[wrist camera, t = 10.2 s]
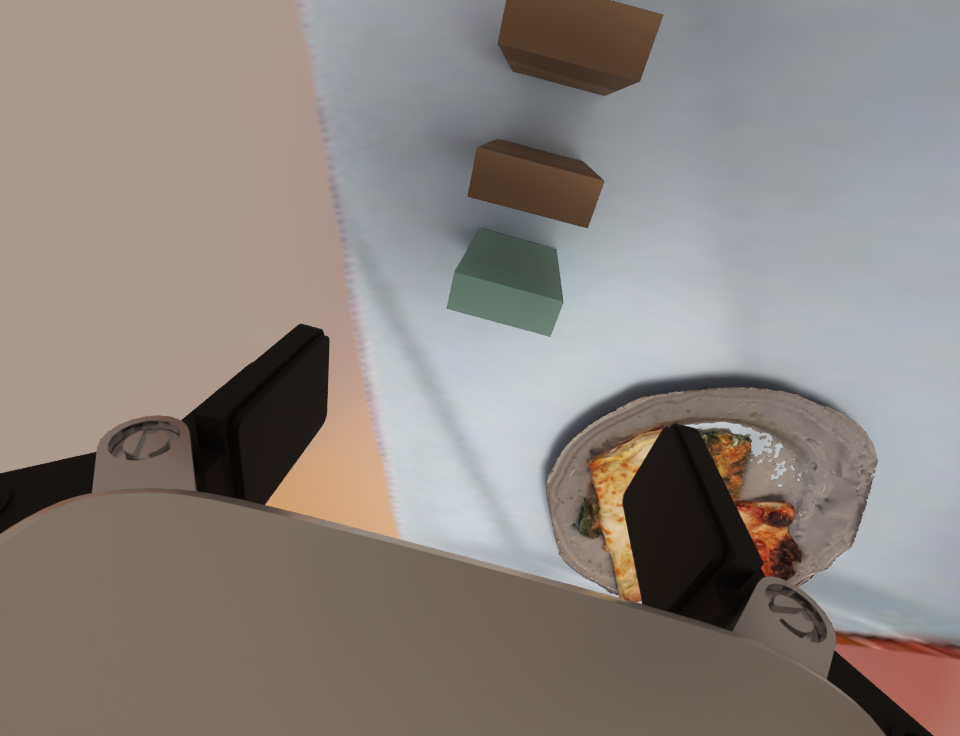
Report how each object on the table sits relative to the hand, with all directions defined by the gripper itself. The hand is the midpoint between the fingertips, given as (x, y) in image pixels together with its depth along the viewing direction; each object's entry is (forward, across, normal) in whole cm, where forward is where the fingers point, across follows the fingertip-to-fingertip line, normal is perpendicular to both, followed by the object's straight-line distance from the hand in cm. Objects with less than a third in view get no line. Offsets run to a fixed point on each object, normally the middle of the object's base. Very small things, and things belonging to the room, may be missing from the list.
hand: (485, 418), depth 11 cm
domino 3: (+18, 0, 0) cm, 18 cm away
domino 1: (+18, 0, -10) cm, 20 cm away
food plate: (+18, -20, +17) cm, 32 cm away
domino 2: (+18, 0, -5) cm, 18 cm away
